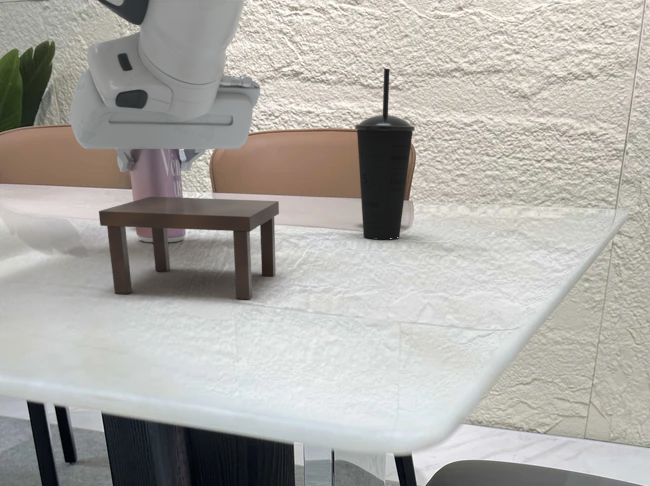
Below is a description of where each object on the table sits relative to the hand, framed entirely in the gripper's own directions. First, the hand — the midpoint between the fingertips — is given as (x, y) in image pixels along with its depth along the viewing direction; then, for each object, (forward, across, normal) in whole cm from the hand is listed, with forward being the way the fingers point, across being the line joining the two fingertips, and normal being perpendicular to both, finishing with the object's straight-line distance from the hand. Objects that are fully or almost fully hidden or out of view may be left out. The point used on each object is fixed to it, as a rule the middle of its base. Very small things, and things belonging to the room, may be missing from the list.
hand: (153, 167), depth 93 cm
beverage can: (+6, 0, +6) cm, 9 cm away
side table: (-14, +6, +26) cm, 30 cm away
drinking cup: (-1, -27, +13) cm, 30 cm away
